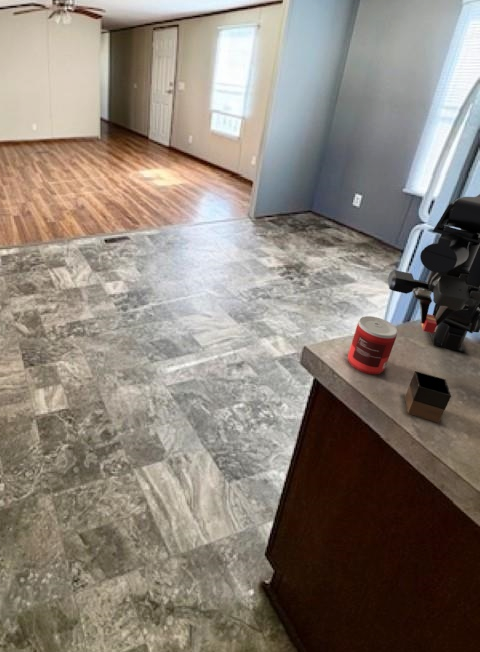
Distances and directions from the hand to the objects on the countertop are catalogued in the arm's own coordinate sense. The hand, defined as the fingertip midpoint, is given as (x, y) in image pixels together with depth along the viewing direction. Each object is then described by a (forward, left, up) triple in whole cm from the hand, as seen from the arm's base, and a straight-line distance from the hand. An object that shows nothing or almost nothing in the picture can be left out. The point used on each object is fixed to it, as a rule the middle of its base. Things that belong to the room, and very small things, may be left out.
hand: (428, 324), depth 93 cm
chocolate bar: (0, 0, -1) cm, 1 cm away
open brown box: (+13, +1, -10) cm, 16 cm away
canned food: (+2, -9, -14) cm, 16 cm away
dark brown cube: (+13, +1, -13) cm, 18 cm away
